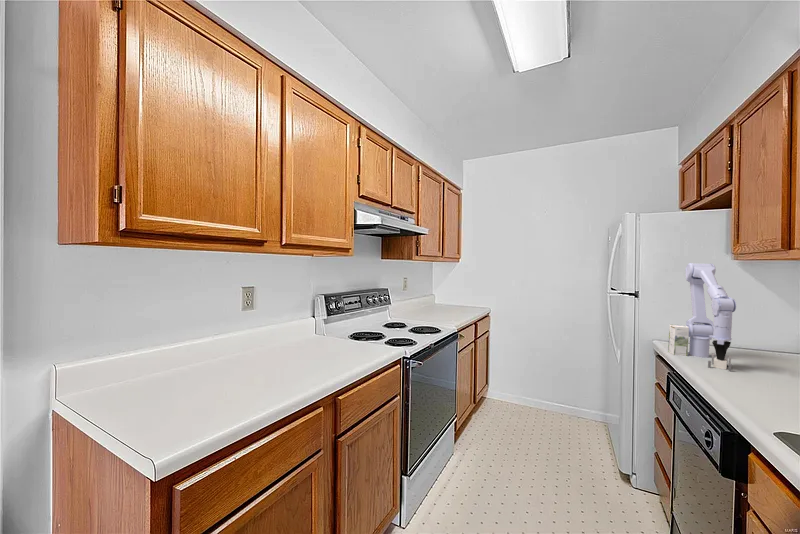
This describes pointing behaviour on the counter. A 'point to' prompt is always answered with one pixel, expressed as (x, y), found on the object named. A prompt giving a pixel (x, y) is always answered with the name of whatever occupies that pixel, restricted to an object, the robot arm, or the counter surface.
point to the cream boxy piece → (713, 359)
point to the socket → (710, 365)
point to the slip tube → (720, 363)
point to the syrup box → (678, 340)
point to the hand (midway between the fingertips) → (720, 358)
